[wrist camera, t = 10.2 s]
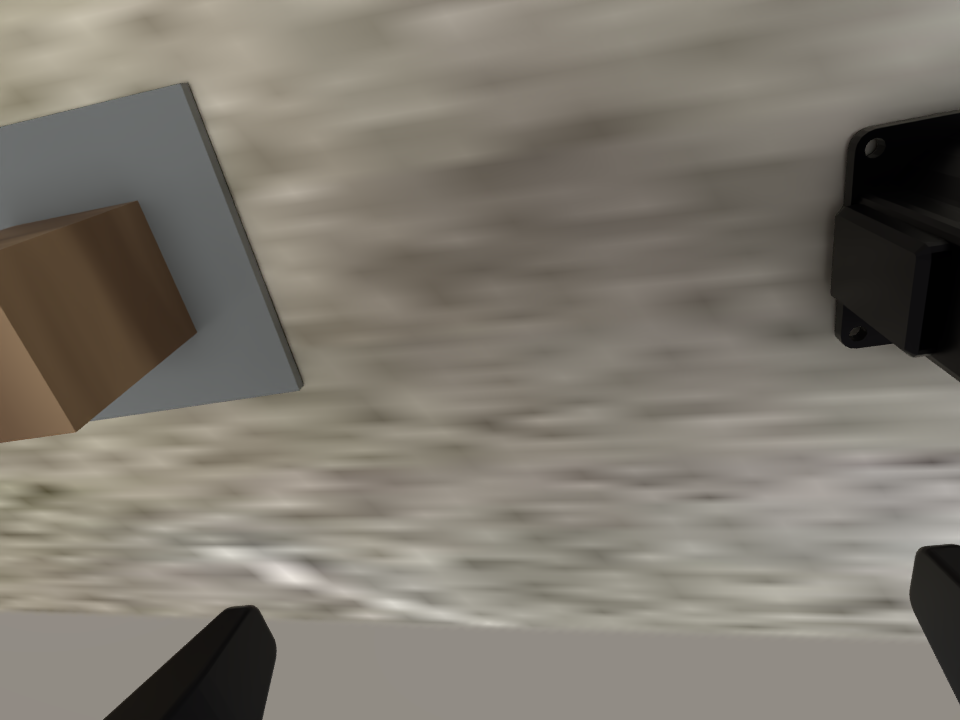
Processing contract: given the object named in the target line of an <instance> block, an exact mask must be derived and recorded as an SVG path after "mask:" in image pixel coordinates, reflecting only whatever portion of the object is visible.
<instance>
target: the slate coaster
mask: <svg viewBox="0 0 960 720" xmlns="http://www.w3.org/2000/svg"><path fill="white" fill-rule="evenodd" d="M133 201H138V202H139V204H140V207H141V209H142V211H143V213H144V215H145V218H146V220H147V222H148V224H149V226H150V229H151V231H152V233H153V235H154V238H155V240H156V242H157V244H158V246H159V249H160V251H161V253H162V255H163V258H164V260H165V262H166V264H167V266H168V269H169V271H170V273H171V275H172V278H173V280H174V282H175V284H176V286H177V289H178V291H179V293H180V295H181V297H182V300H183V302H184V304H185V306H186V309H187V311H188V313H189V315H190V317H191V320H192V322H193V324H194V326H195V329H196V331H197V333H196V334H195V335H194V336H193V337H191V338H190V339H189V340H188V341H186V342H185V343H184V344H183V345H182V346H180V347H179V348H178V349H177V350H175V351H174V352H173V353H172V354H171V355H169V356H168V357H167V358H166V359H165V360H163V361H162V362H161V363H160V364H158V365H157V366H156V367H155V368H154V369H152V370H151V371H150V372H149V373H147V374H146V375H145V376H144V377H143V378H141V379H140V380H139V381H138V382H137V383H135V384H134V385H133V386H132V387H130V388H129V389H128V390H127V391H126V392H124V393H123V394H122V395H121V396H119V397H118V398H117V399H116V400H115V401H113V402H112V403H111V404H110V405H109V406H107V407H106V408H105V409H104V410H102V411H101V412H100V413H99V414H98V415H96V416H95V417H94V418H93V419H91V420H90V421H95V420H102V419H109V418H115V417H122V416H129V415H136V414H143V413H150V412H156V411H163V410H170V409H177V408H184V407H191V406H198V405H204V404H211V403H218V402H225V401H232V400H239V399H245V398H252V397H259V396H266V395H273V394H280V393H286V392H293V391H300V389H301V388H302V386H303V383H302V380H301V377H300V375H299V372H298V370H297V367H296V364H295V362H294V359H293V357H292V354H291V351H290V349H289V346H288V343H287V341H286V338H285V336H284V333H283V330H282V328H281V325H280V323H279V320H278V317H277V315H276V312H275V310H274V307H273V304H272V302H271V299H270V297H269V294H268V291H267V289H266V286H265V283H264V281H263V278H262V276H261V273H260V270H259V268H258V265H257V263H256V260H255V257H254V255H253V252H252V250H251V247H250V244H249V242H248V239H247V237H246V234H245V231H244V229H243V226H242V223H241V221H240V218H239V216H238V213H237V210H236V208H235V205H234V203H233V200H232V197H231V195H230V192H229V190H228V187H227V184H226V182H225V179H224V177H223V174H222V171H221V169H220V166H219V163H218V161H217V158H216V156H215V153H214V150H213V148H212V145H211V143H210V140H209V137H208V135H207V132H206V130H205V127H204V124H203V122H202V119H201V117H200V114H199V111H198V109H197V106H196V103H195V101H194V98H193V96H192V93H191V90H190V88H189V85H188V83H180V84H176V85H171V86H167V87H163V88H159V89H155V90H151V91H147V92H143V93H139V94H134V95H130V96H126V97H122V98H118V99H114V100H110V101H106V102H101V103H97V104H93V105H89V106H85V107H81V108H77V109H73V110H69V111H64V112H60V113H56V114H52V115H48V116H44V117H40V118H36V119H31V120H27V121H23V122H19V123H15V124H11V125H7V126H3V127H0V230H3V229H6V228H9V227H12V226H17V225H22V224H26V223H31V222H36V221H41V220H46V219H51V218H55V217H60V216H65V215H70V214H75V213H80V212H84V211H89V210H94V209H99V208H104V207H109V206H113V205H118V204H123V203H128V202H133Z"/></svg>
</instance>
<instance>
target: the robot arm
mask: <svg viewBox="0 0 960 720" xmlns="http://www.w3.org/2000/svg"><path fill="white" fill-rule="evenodd" d="M875 138H876V139H877V143H878V145H877V148H876V150H875V151H874V152H873V153H872V154H870V155H868V156H866V154H865V148H866V145H867V144H868V143H869V142H870V140H873V139H875ZM831 295H832V296H833V297H834V298H836V299H837V307H836V321H835V335H836V337H837V339H838V340H839V341H840V342H841V343H842V344H844V345H845V346H846V347H849V348H864V347H871V346H878V345H886V344H895V345H896V346H897V347H898V348H900V349H901V350H902V351H904V352H905V353H906V354H908V355H909V356H911V357H920V356H926V357H927V358H928V359H930V360H931V361H932V362H934V363H935V364H936V365H938V366H939V367H940V368H942V369H943V370H944V371H946V372H947V373H948V374H950V375H951V376H952V377H954V378H955V379H956V380H958V381H959V382H960V110H955V111H950V112H944V113H939V114H934V115H929V116H923V117H918V118H913V119H908V120H902V121H897V122H892V123H887V124H881V125H876V126H871V127H867V128H865V129H862V130H860V131H859V132H858V133H857V134H855V135H854V137H853V138H852V140H851V141H850V143H849V147H848V152H847V166H846V180H845V194H844V207H842V209H841V210H840V211H839V212H838V214H837V215H836V217H835V232H834V248H833V263H832V278H831ZM858 326H861V328H860V331H859V332H858V333H857V334H856V335H853V336H849V334H850V332H851V331H852V330H853V329H854V328H856V327H858ZM909 595H910V602H911V606H912V608H913V611H914V613H915V615H916V617H917V619H918V622H919V624H920V626H921V628H922V630H923V632H924V634H925V636H926V638H927V640H928V642H929V644H930V646H931V648H932V650H933V652H934V654H935V656H936V658H937V660H938V662H939V664H940V666H941V668H942V669H943V672H944V674H945V676H946V678H947V680H948V682H949V684H950V686H951V688H952V690H953V692H954V694H955V696H956V698H957V700H958V702H959V704H960V546H959V545H955V544H944V545H933V546H924V547H921V548H920V549H919V550H918V551H917V552H916V556H915V561H914V567H913V573H912V579H911V585H910V593H909ZM276 651H277V650H276V643H275V639H274V637H273V635H272V633H271V631H270V630H269V628H268V626H267V624H266V622H265V620H264V618H263V616H262V614H261V612H260V611H259V609H258V608H257V607H255V606H254V605H245V606H233V607H229V608H227V609H225V610H224V611H223V612H221V613H220V614H219V615H218V616H217V617H216V618H215V619H214V620H212V621H211V622H210V623H209V624H208V625H207V626H206V627H205V628H204V629H203V630H202V631H200V632H199V633H198V634H197V635H196V636H195V637H194V638H193V639H192V640H190V641H189V642H188V643H187V644H186V645H185V646H184V647H183V648H182V649H180V650H179V651H178V652H177V653H176V654H175V655H174V656H173V657H172V658H171V659H170V660H168V661H167V662H166V663H165V664H164V665H163V666H162V667H161V668H160V669H158V670H157V672H155V673H154V674H153V675H152V676H151V677H150V678H149V679H147V680H146V681H145V682H144V683H143V684H142V685H141V686H140V687H139V688H138V689H136V690H135V691H134V692H133V693H132V694H131V695H130V696H129V697H128V698H126V699H125V700H124V701H123V702H122V703H121V704H120V705H119V706H118V707H117V708H116V709H114V710H113V711H112V712H111V713H110V714H109V715H108V716H107V717H106V718H104V719H103V720H262V719H263V714H264V709H265V705H266V701H267V696H268V692H269V687H270V683H271V678H272V673H273V669H274V665H275V660H276Z"/></svg>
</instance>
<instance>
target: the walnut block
mask: <svg viewBox="0 0 960 720" xmlns="http://www.w3.org/2000/svg"><path fill="white" fill-rule="evenodd" d="M196 333H197V331H196V329H195V326H194V324H193V322H192V320H191V317H190V315H189V313H188V311H187V309H186V306H185V304H184V302H183V300H182V297H181V295H180V293H179V291H178V289H177V286H176V284H175V282H174V280H173V278H172V275H171V273H170V271H169V269H168V266H167V264H166V262H165V260H164V258H163V255H162V253H161V251H160V249H159V246H158V244H157V242H156V240H155V238H154V235H153V233H152V231H151V229H150V226H149V224H148V222H147V220H146V218H145V215H144V213H143V211H142V209H141V207H140V204H139V202H138V201H133V202H128V203H123V204H118V205H113V206H109V207H104V208H99V209H94V210H89V211H84V212H80V213H75V214H70V215H65V216H60V217H55V218H51V219H46V220H41V221H36V222H31V223H26V224H22V225H17V226H12V227H9V228H6V229H3V230H0V443H3V442H10V441H17V440H24V439H31V438H38V437H45V436H53V435H60V434H67V433H74V432H77V431H78V430H79V429H81V428H82V427H83V426H84V425H85V424H87V423H88V422H89V421H90V420H91V419H93V418H94V417H95V416H96V415H98V414H99V413H100V412H101V411H102V410H104V409H105V408H106V407H107V406H109V405H110V404H111V403H112V402H113V401H115V400H116V399H117V398H118V397H119V396H121V395H122V394H123V393H124V392H126V391H127V390H128V389H129V388H130V387H132V386H133V385H134V384H135V383H137V382H138V381H139V380H140V379H141V378H143V377H144V376H145V375H146V374H147V373H149V372H150V371H151V370H152V369H154V368H155V367H156V366H157V365H158V364H160V363H161V362H162V361H163V360H165V359H166V358H167V357H168V356H169V355H171V354H172V353H173V352H174V351H175V350H177V349H178V348H179V347H180V346H182V345H183V344H184V343H185V342H186V341H188V340H189V339H190V338H191V337H193V336H194V335H195V334H196Z"/></svg>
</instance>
